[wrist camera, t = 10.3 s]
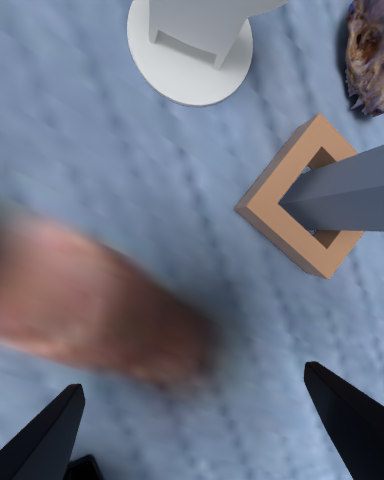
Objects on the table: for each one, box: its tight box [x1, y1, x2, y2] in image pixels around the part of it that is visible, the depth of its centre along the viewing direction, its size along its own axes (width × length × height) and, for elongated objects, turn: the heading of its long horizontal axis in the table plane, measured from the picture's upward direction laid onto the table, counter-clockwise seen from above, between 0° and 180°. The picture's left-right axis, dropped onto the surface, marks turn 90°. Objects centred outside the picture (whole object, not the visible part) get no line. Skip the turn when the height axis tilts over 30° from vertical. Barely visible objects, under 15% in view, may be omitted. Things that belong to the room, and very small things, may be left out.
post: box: [278, 145, 384, 232], centre depth 16 cm, size 4×4×13 cm
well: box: [234, 113, 365, 280], centre depth 21 cm, size 10×10×3 cm
